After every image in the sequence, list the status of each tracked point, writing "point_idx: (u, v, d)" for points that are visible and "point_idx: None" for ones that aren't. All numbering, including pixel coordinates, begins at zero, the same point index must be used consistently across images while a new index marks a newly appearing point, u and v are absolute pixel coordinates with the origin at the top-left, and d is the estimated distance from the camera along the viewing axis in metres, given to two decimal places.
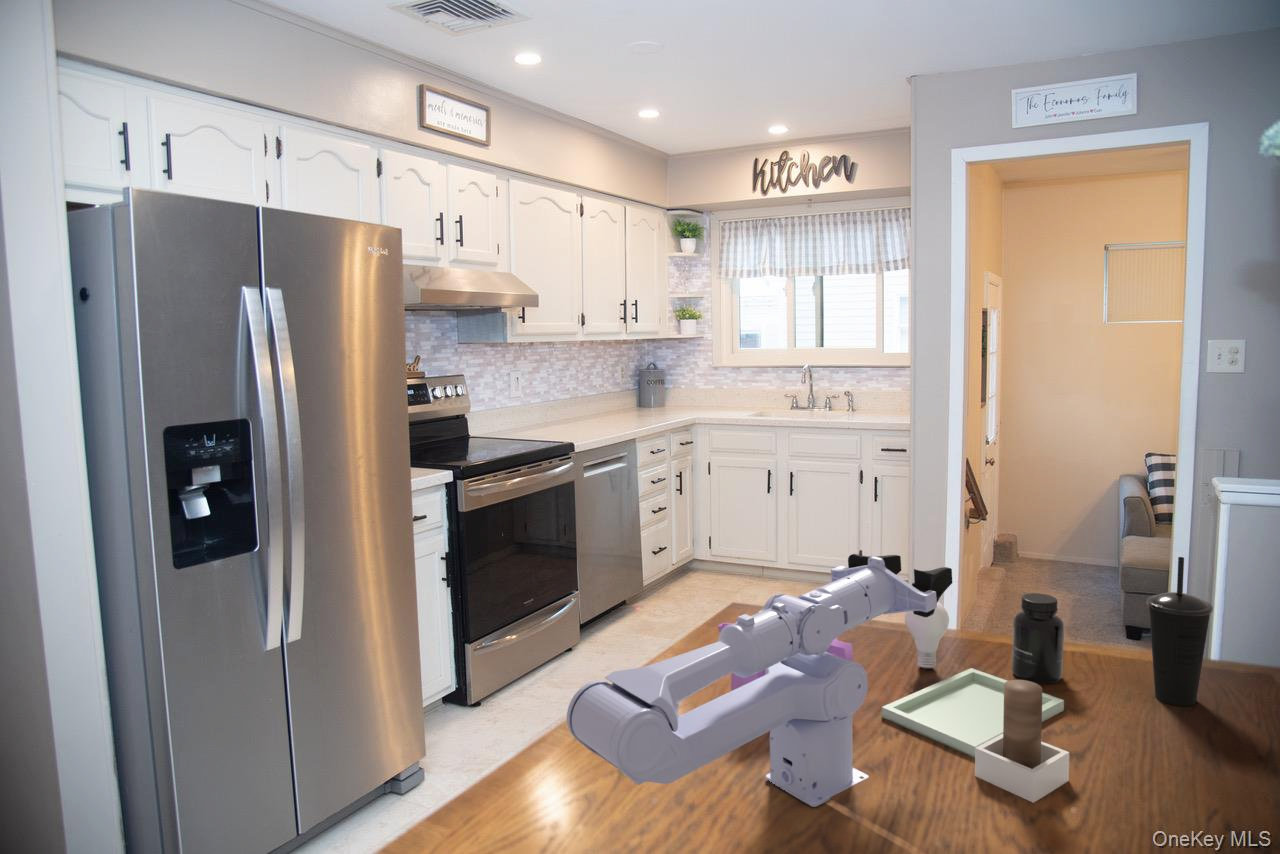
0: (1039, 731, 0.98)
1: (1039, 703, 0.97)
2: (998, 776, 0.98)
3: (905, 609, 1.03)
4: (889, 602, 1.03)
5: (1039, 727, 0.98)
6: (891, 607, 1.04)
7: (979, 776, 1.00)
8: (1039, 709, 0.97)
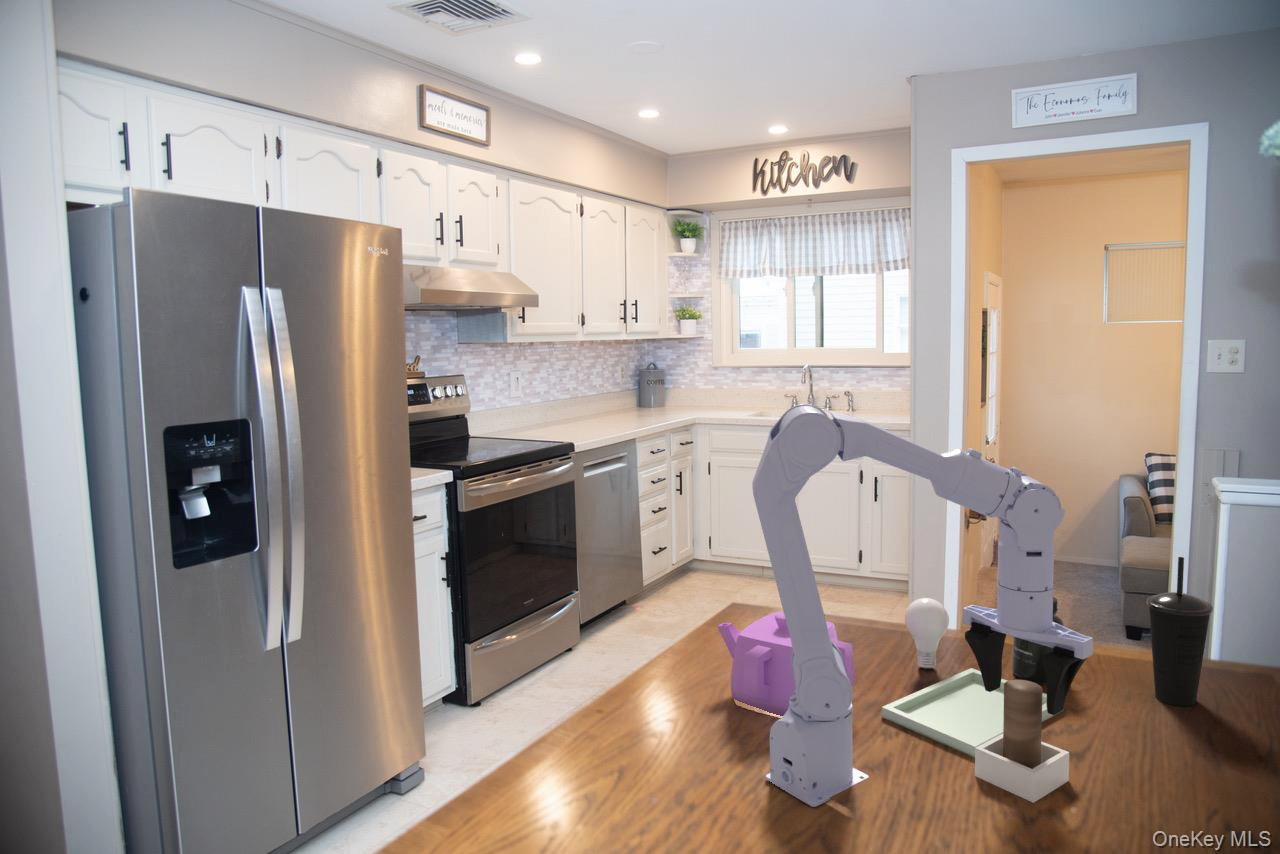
0: (1039, 731, 0.98)
1: (1039, 703, 0.97)
2: (998, 776, 0.98)
3: None
4: (1045, 621, 0.95)
5: (1039, 727, 0.98)
6: (1036, 629, 0.95)
7: (979, 776, 1.00)
8: (1039, 709, 0.97)
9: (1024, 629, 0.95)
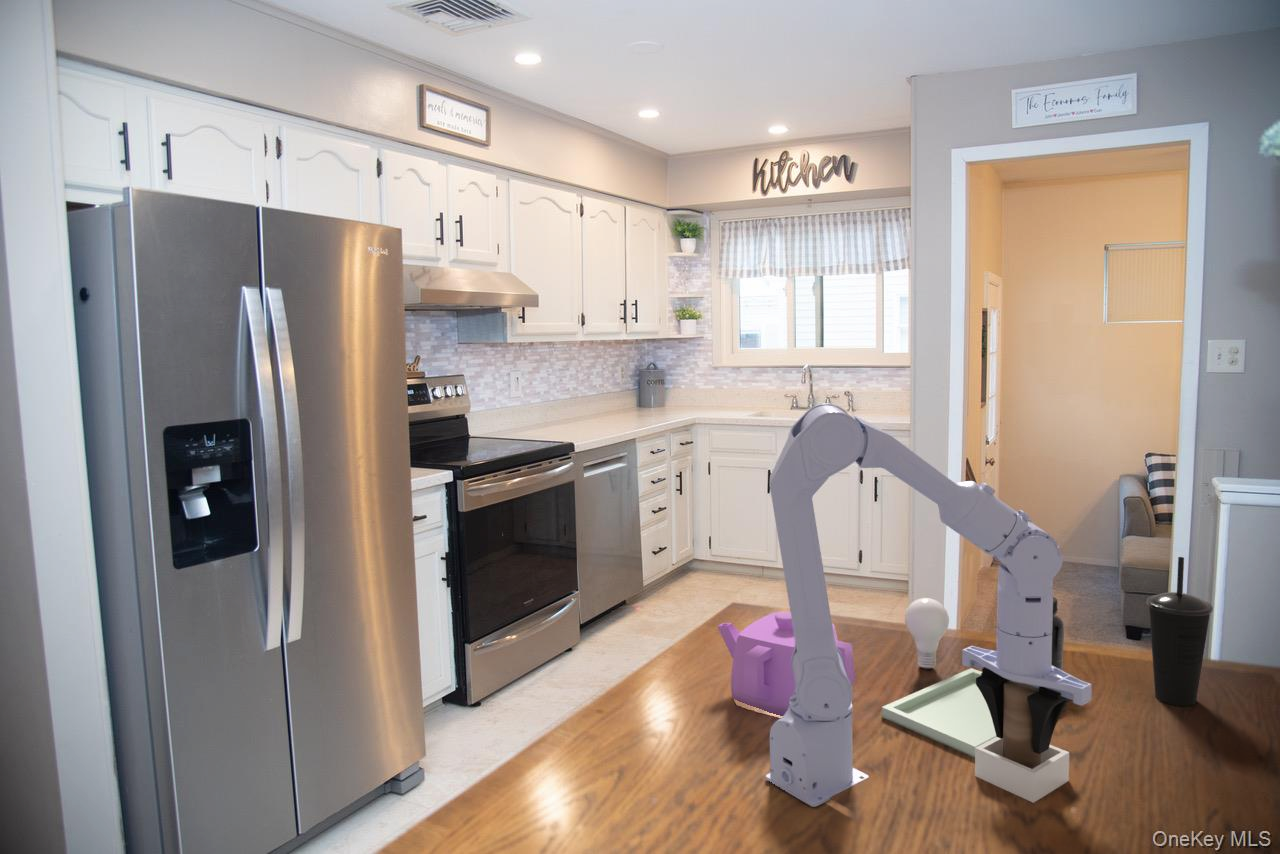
0: None
1: None
2: (998, 776, 0.98)
3: None
4: (1044, 666, 0.96)
5: None
6: (1035, 673, 0.95)
7: (979, 776, 1.00)
8: None
9: (1023, 674, 0.96)
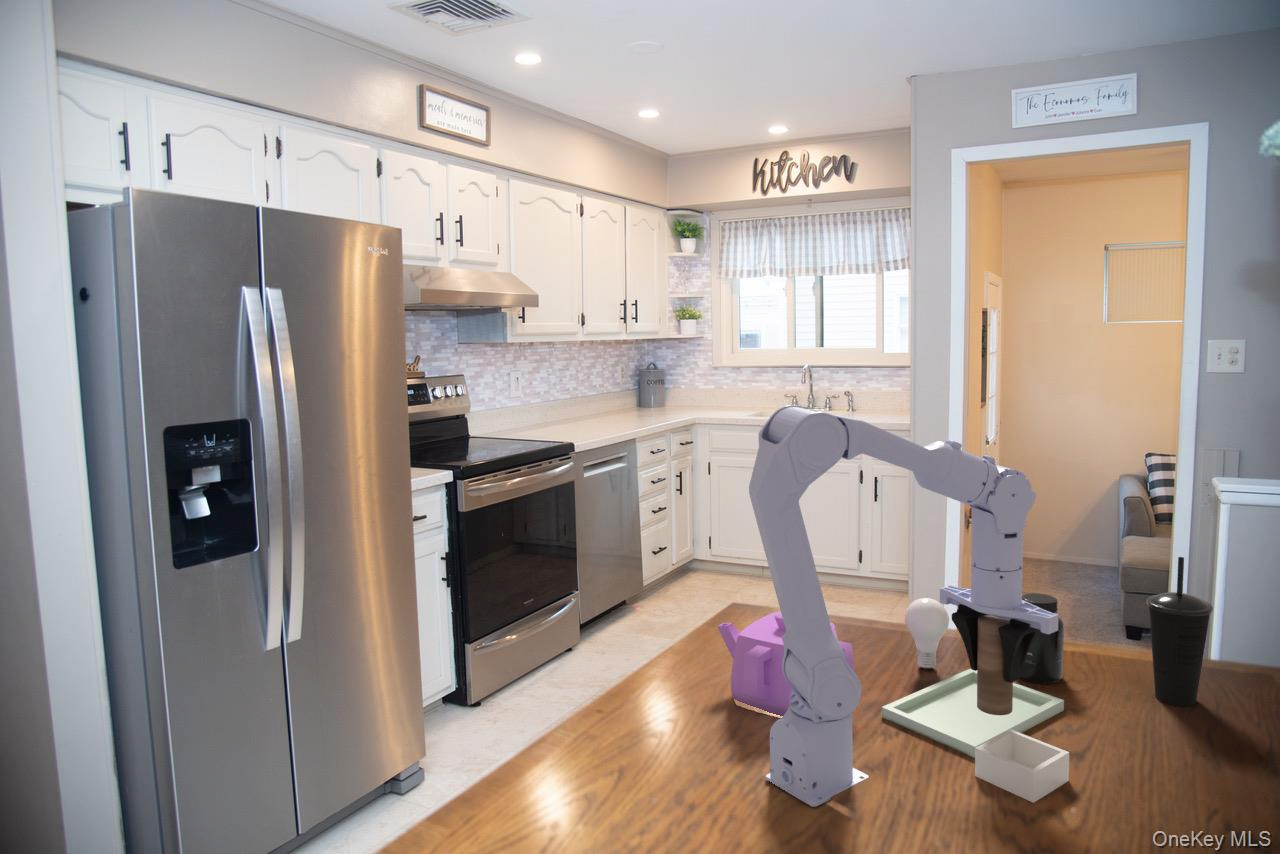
0: None
1: None
2: (998, 776, 0.98)
3: None
4: (1014, 599, 1.01)
5: None
6: (1006, 606, 1.01)
7: (979, 776, 1.00)
8: None
9: (995, 606, 1.01)
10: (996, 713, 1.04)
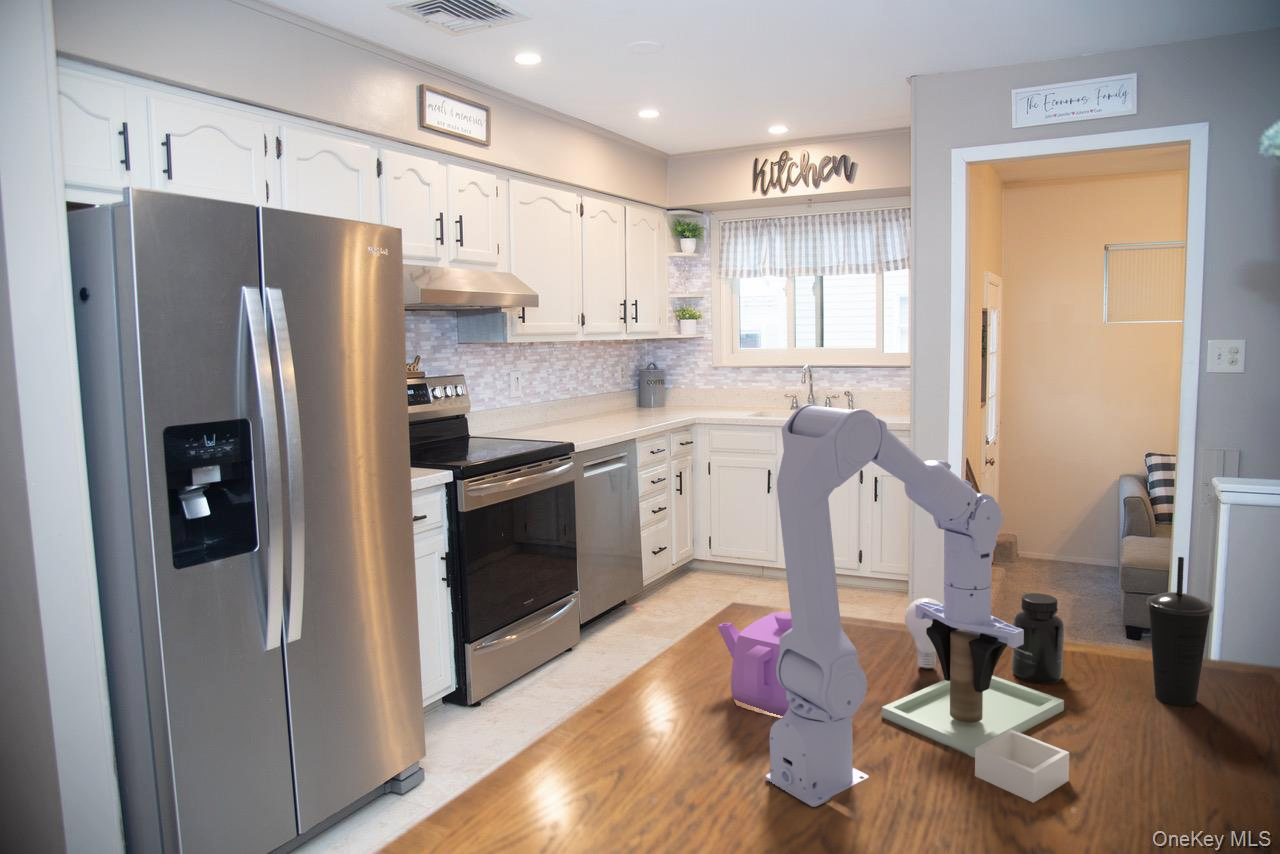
0: None
1: None
2: (998, 776, 0.98)
3: None
4: (983, 615, 1.09)
5: None
6: (976, 621, 1.09)
7: (979, 776, 1.00)
8: None
9: (965, 622, 1.09)
10: (967, 720, 1.12)
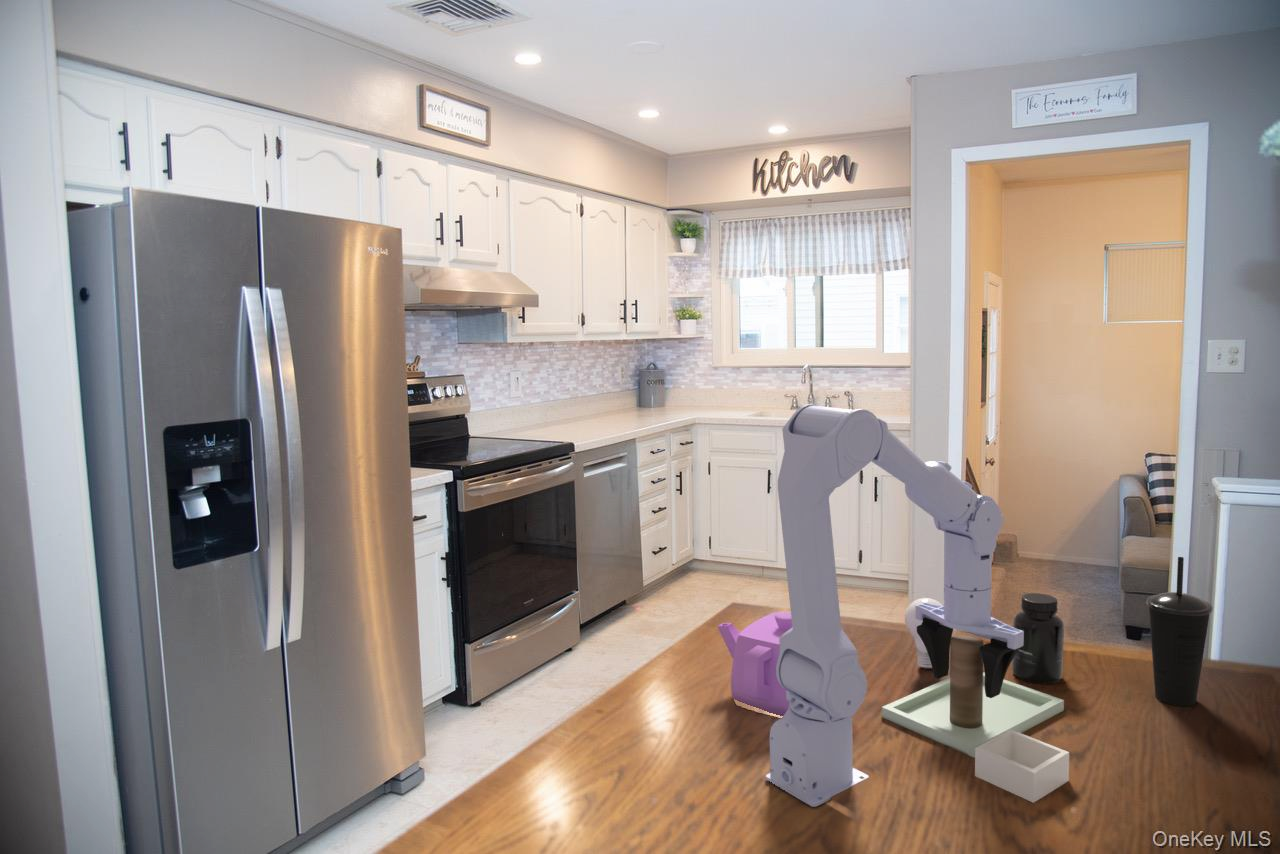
0: (980, 679, 1.11)
1: (980, 654, 1.11)
2: (998, 776, 0.98)
3: None
4: (983, 616, 1.09)
5: (980, 675, 1.11)
6: (976, 623, 1.09)
7: (979, 776, 1.00)
8: (980, 659, 1.11)
9: (965, 623, 1.09)
10: (967, 726, 1.12)
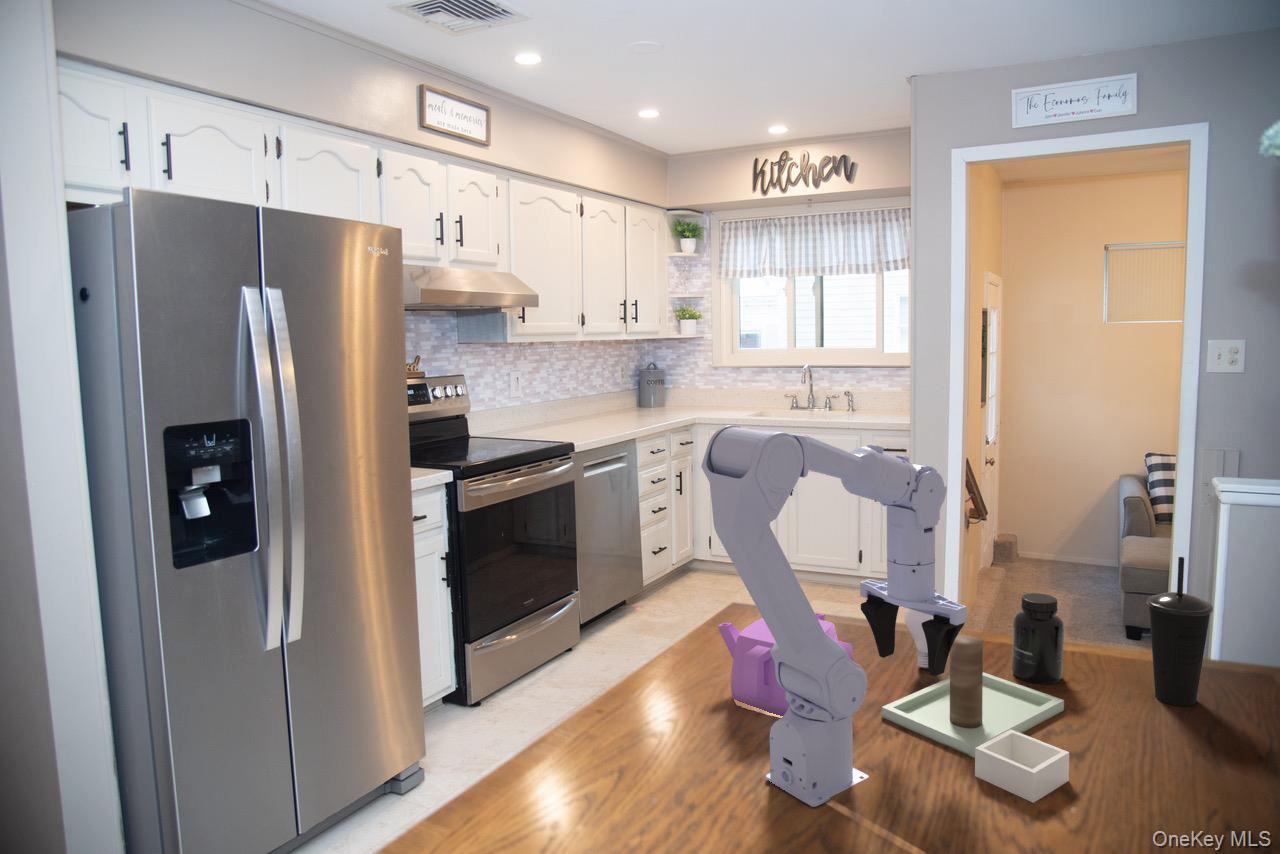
0: (980, 679, 1.11)
1: (980, 654, 1.11)
2: (998, 776, 0.98)
3: None
4: (926, 591, 1.05)
5: (980, 675, 1.11)
6: (918, 599, 1.05)
7: (979, 776, 1.00)
8: (980, 659, 1.11)
9: (908, 599, 1.05)
10: (967, 726, 1.12)
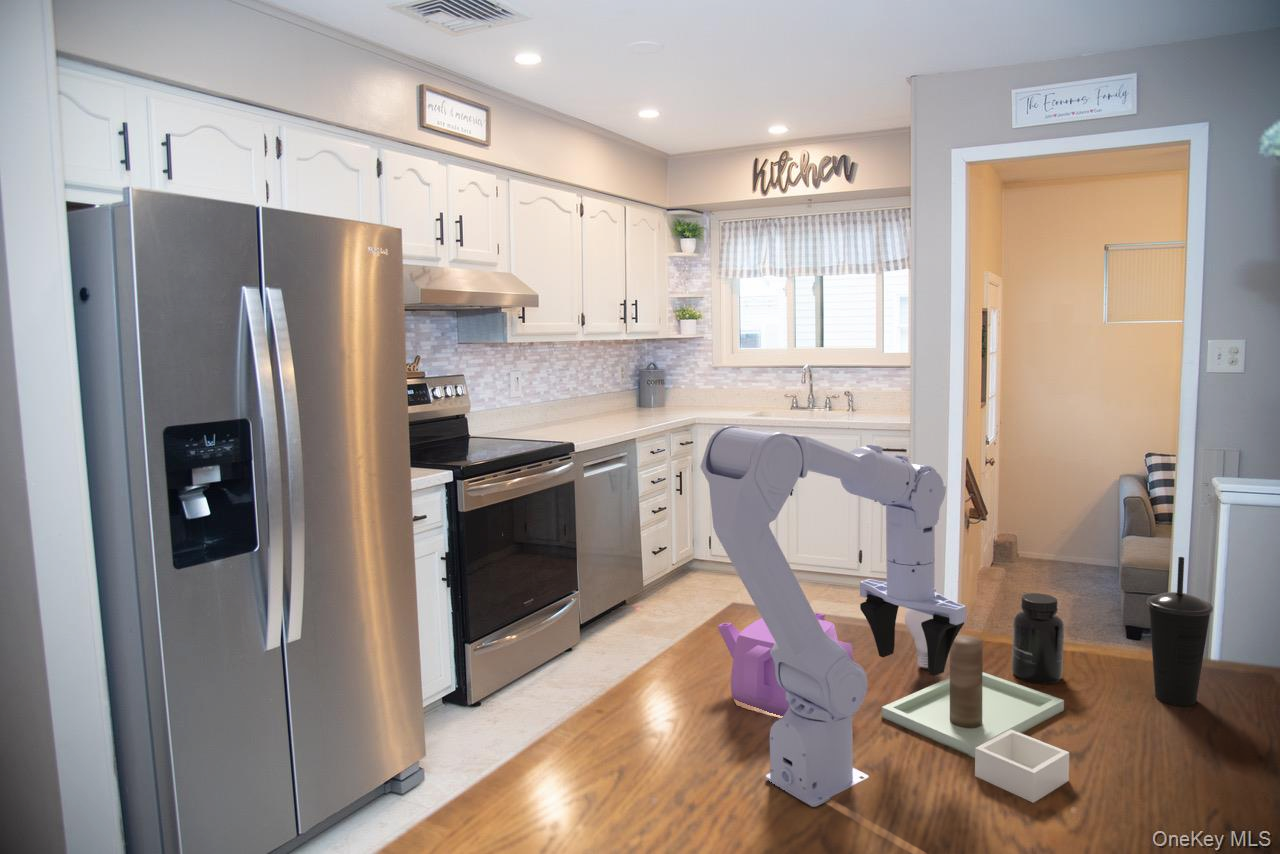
0: (980, 678, 1.11)
1: (980, 653, 1.11)
2: (998, 776, 0.98)
3: None
4: (926, 591, 1.05)
5: (980, 675, 1.11)
6: (918, 598, 1.05)
7: (979, 776, 1.00)
8: (980, 659, 1.11)
9: (907, 599, 1.05)
10: (967, 726, 1.12)
